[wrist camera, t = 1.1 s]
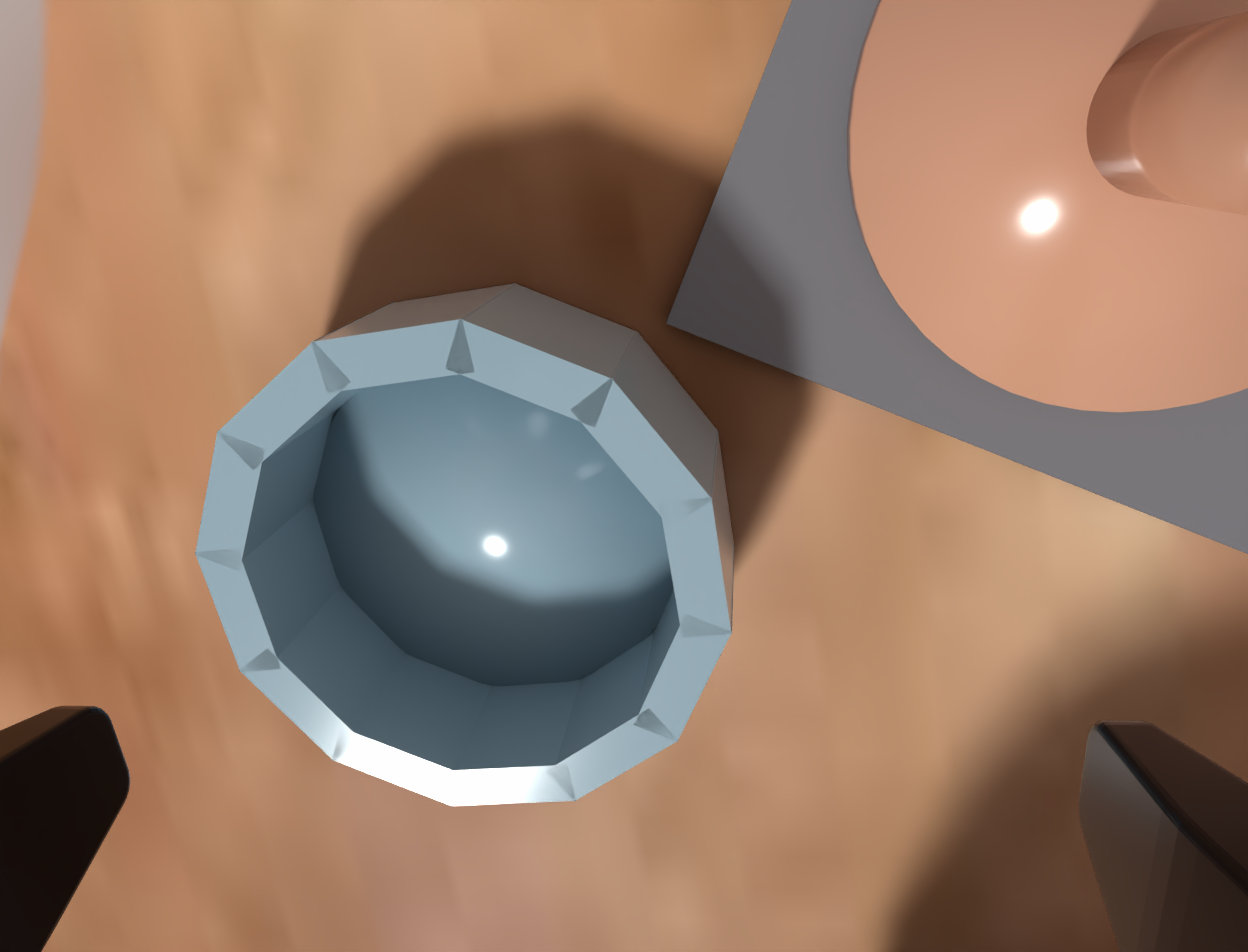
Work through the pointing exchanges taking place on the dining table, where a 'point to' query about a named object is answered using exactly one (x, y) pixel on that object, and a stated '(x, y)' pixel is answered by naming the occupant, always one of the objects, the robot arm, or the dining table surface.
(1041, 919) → the dining table surface
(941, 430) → the mat
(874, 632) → the dining table surface
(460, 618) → the bowl
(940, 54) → the lid
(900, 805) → the dining table surface
